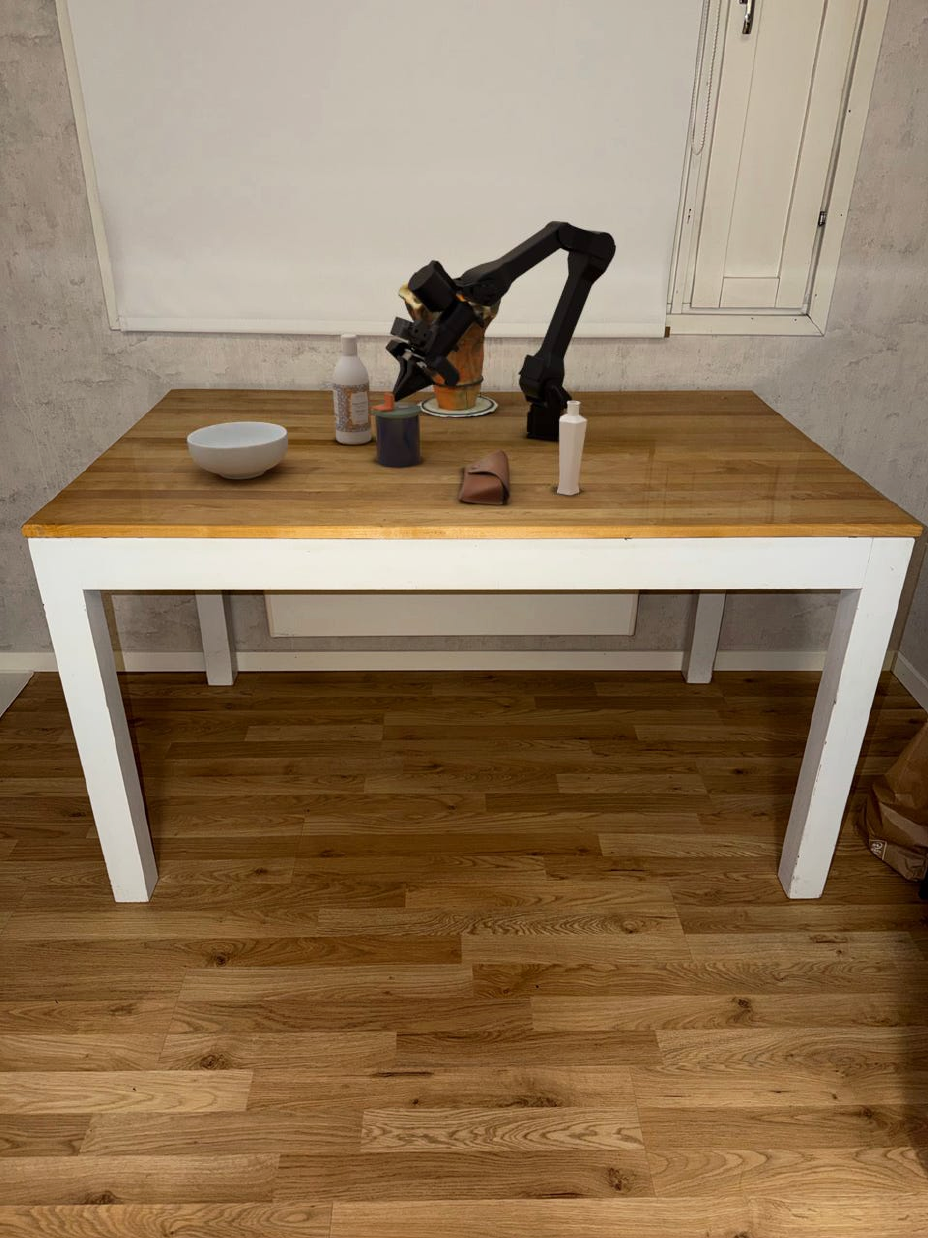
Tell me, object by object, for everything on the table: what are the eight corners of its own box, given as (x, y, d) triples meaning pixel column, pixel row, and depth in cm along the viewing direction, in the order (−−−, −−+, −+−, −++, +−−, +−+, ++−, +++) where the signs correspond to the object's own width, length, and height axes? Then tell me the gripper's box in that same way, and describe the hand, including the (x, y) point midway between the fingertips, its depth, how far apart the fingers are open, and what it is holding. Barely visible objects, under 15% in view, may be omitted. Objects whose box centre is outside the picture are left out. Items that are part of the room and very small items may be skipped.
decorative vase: (385, 409, 191) (380, 273, 178) (454, 390, 206) (455, 265, 193) (455, 426, 179) (456, 283, 166) (523, 406, 194) (529, 273, 181)
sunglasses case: (460, 465, 155) (479, 434, 152) (493, 485, 156) (513, 454, 154) (457, 501, 139) (479, 467, 136) (494, 522, 141) (516, 489, 138)
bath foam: (346, 447, 166) (339, 339, 156) (330, 438, 171) (323, 333, 161) (377, 441, 169) (373, 336, 160) (361, 433, 174) (356, 330, 165)
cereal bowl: (291, 455, 161) (287, 418, 157) (290, 485, 146) (287, 444, 143) (197, 460, 158) (191, 421, 155) (187, 490, 144) (181, 449, 140)
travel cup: (408, 450, 164) (407, 399, 160) (430, 463, 158) (429, 410, 153) (367, 457, 160) (365, 405, 156) (387, 470, 154) (386, 416, 149)
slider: (388, 406, 155) (387, 391, 154) (395, 409, 153) (394, 395, 152) (373, 408, 154) (372, 393, 152) (380, 412, 151) (379, 397, 150)
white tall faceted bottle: (580, 496, 143) (587, 406, 136) (554, 495, 143) (559, 405, 136) (582, 487, 147) (589, 399, 140) (556, 485, 147) (561, 398, 140)
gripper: (393, 292, 155) (340, 360, 155) (444, 306, 141) (386, 382, 141) (432, 333, 162) (381, 399, 162) (484, 351, 148) (428, 423, 148)
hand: (392, 400), depth 153 cm, fingers closed, pressing on slider
